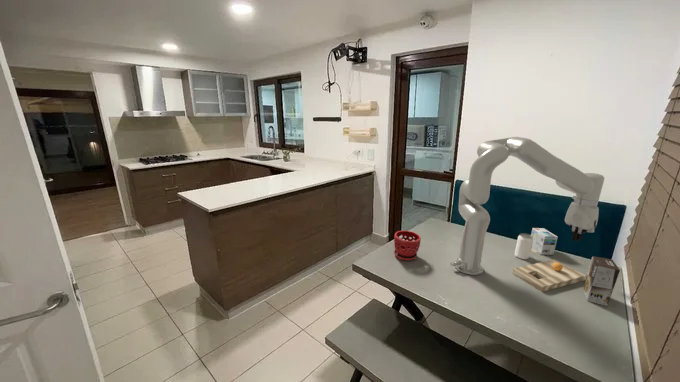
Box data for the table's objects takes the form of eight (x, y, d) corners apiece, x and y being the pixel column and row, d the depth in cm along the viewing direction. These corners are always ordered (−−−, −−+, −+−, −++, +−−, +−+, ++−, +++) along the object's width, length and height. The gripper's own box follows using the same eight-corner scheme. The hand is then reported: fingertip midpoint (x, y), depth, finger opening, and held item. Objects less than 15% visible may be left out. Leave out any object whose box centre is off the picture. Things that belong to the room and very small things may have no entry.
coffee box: (608, 306, 104) (620, 270, 99) (586, 300, 107) (597, 265, 103) (602, 293, 111) (613, 259, 107) (581, 288, 115) (592, 255, 110)
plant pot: (408, 265, 132) (410, 244, 128) (388, 255, 142) (389, 234, 138) (424, 257, 140) (426, 236, 136) (403, 247, 149) (405, 227, 146)
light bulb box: (553, 255, 141) (558, 236, 138) (540, 255, 141) (545, 236, 138) (540, 245, 151) (544, 227, 148) (527, 245, 151) (531, 227, 148)
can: (532, 259, 137) (537, 238, 133) (519, 259, 137) (523, 238, 133) (523, 253, 143) (528, 232, 139) (511, 253, 143) (515, 232, 139)
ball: (557, 272, 121) (559, 266, 120) (549, 268, 125) (551, 261, 124) (563, 271, 122) (565, 264, 121) (555, 267, 126) (557, 260, 125)
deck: (541, 291, 113) (543, 286, 112) (512, 273, 125) (513, 268, 125) (584, 280, 120) (585, 275, 119) (552, 263, 133) (553, 259, 132)
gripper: (561, 197, 122) (552, 234, 127) (600, 208, 108) (589, 249, 113) (573, 195, 124) (564, 232, 129) (612, 206, 110) (601, 246, 116)
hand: (575, 240), depth 121 cm, fingers closed
